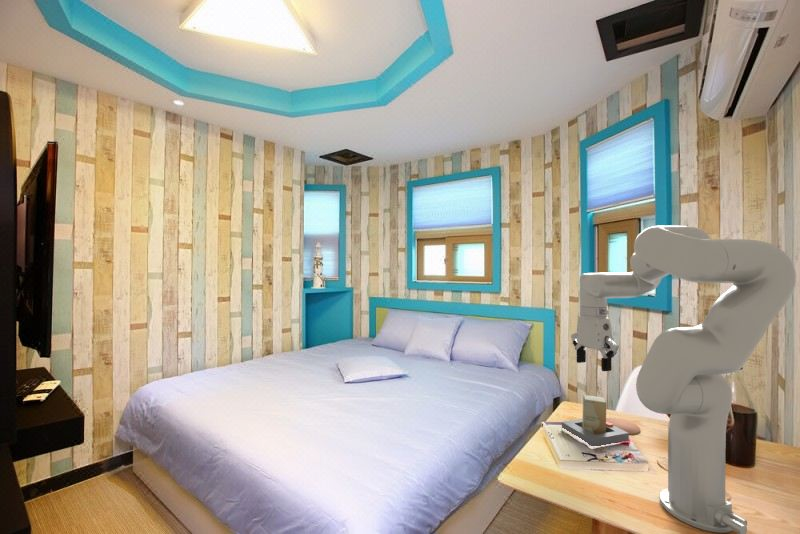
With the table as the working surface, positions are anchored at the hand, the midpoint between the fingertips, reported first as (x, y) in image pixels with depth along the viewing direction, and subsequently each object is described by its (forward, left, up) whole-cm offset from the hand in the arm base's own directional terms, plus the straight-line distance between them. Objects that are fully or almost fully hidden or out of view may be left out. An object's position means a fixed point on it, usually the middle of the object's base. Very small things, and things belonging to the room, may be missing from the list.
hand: (593, 366), depth 109 cm
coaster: (+3, -14, -22) cm, 26 cm away
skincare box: (0, 0, -22) cm, 22 cm away
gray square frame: (0, 0, -22) cm, 22 cm away
